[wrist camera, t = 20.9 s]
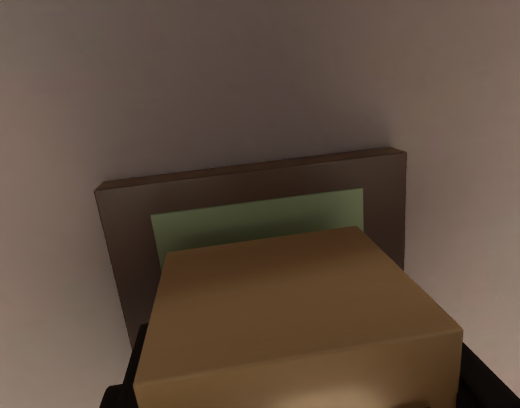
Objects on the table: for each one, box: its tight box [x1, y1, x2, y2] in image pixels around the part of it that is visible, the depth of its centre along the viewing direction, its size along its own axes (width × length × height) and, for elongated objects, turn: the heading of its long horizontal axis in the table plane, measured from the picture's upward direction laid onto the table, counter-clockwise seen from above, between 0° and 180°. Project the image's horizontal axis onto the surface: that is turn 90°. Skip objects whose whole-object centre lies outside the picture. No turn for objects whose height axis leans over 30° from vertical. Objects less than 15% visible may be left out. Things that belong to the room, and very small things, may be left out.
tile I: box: [133, 226, 463, 408], centre depth 8 cm, size 5×5×5 cm
